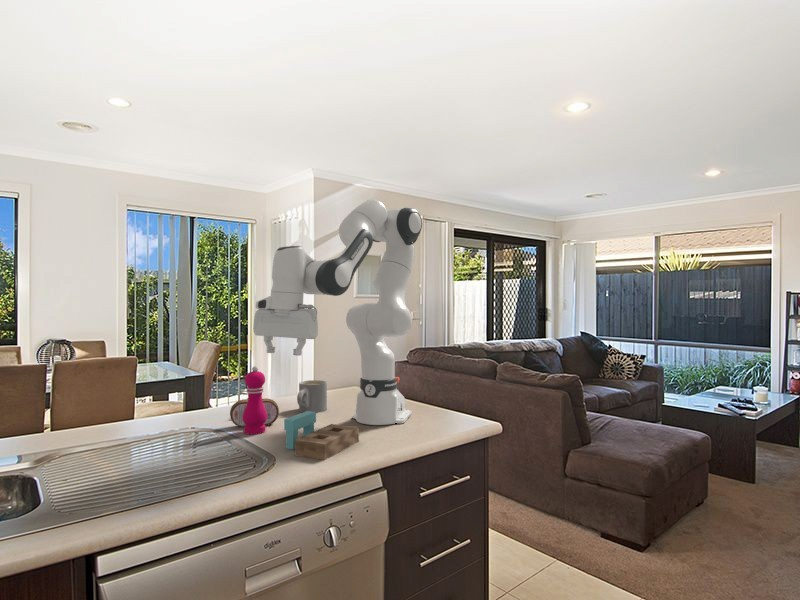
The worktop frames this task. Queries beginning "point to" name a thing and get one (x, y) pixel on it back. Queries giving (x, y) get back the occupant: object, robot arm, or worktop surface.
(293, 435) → the clip
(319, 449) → the slotted wooden block
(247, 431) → the pepper mill
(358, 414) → the robot arm
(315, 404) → the coffee mug
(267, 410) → the tin
